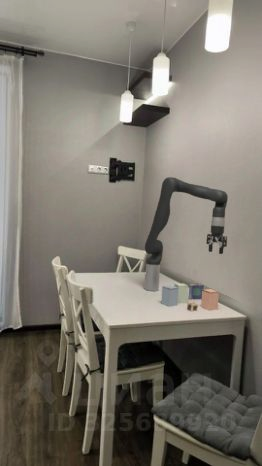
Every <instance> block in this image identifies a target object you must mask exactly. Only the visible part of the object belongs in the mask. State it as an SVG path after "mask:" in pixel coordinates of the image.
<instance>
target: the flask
mask: <svg viewBox="0 0 262 466" xmlns="http://www.w3.org/2000/svg"><path fill="white" fill-rule="evenodd" d="M194 282H195V283H194V284H189V285H188V286H189V290H188V300H192V299H193V300H195V299H196V300H202V290H203V289H204V284H202V283H198V281H194Z"/></svg>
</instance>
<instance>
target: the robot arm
mask: <svg viewBox="0 0 262 466" xmlns="http://www.w3.org/2000/svg"><path fill="white" fill-rule="evenodd" d="M173 193H184V194H187V195H190V196H193V197H195V198H199V199H203V200H208V201H211V202H215V203H214V207H213V209H212V212H211V213H212V217H211V220H210V233H208V234H207V235H206V243H205V244H206V245H208V252H209V253H212V252H213V247H214V246H213V245H214V244H215V243H217V244H218V246H219V250H218V254H219V255H223V254H224V249H225V248H226V247H227V246H228V236H226V235H224V233H225V226H226V225H225V224H226V220H225V219H226V217H225V216H226V208H227V203H228V194H227V192H226V191H224V190H220V189H217V188H211V187H208V186H203V185H198V184H194V183H189V182H185V181H182V180H181V179H179V178H176V177H171V176H168V177H166V178H164V180H162V184H161V189H160V193H159V194H160V195H159V198H158V199H159V200H158V202H157V206H156V210H155V212H154V216H153V221H152V223H151V227H150V231H149V234H148V236H147V238H146V240H145V241H146V242H145V244H144V250H145V252H146V253H145V254H147V255H150V256H149V257H148V258H147V259H146V261H145V263H146V265H145V273H144V284H143V287H144V290H145V291H149V292H158V291H159V288H160V287H159V285H160V272H161V262H162V258H163V249H164V246H163V245H164V244H163V242H162V241H161V239H158V238H159V235H160V234H161V232H162V231H163V230H164V229H165V228H166V227H167V224H168V222H169V220H170V216H171V199H172V196H173Z"/></svg>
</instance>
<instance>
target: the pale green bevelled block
mask: <svg viewBox="0 0 262 466" xmlns="http://www.w3.org/2000/svg"><path fill="white" fill-rule="evenodd" d="M173 286H175V287H178V288H179V289H178V302H177V304H187V303H188V302H189V301H188V300H189V286H190V285H188V284H186V283H180V282H179V283H174V284H173Z"/></svg>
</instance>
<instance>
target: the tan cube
mask: <svg viewBox="0 0 262 466" xmlns="http://www.w3.org/2000/svg"><path fill="white" fill-rule="evenodd" d="M186 304H187V306H186V310H187V311H189V312H191V313H193V312H194V311H195V312H198V311H199V310H198V309H199V303H196V302H195V301H190V302H189V301H188V303H186ZM195 312H194V313H195Z"/></svg>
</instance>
